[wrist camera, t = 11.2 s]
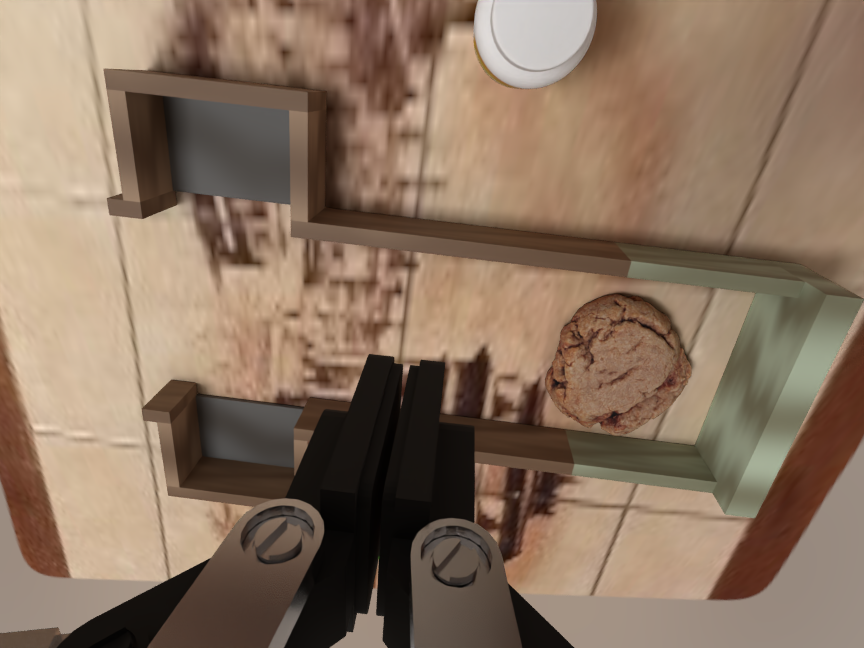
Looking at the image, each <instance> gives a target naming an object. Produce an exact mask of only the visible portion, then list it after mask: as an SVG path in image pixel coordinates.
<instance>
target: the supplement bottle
mask: <svg viewBox="0 0 864 648" xmlns="http://www.w3.org/2000/svg"><path fill="white" fill-rule="evenodd" d="M596 21H597V3H596V0H478V3H477V7H476V11H475V19H474V35H473V37H474V48H475V52H476V55H477V58H478V60H479V63H480V65H481V66H482V68H483V70H484V71H485V72H486V73H487V74H488V75H489V76H490V77H491V78H492V79H493V80H494V81H496V82H497V83H499V84H501V85H504V86H506V87H510V88H517V89H537V88H542V87H545V86H548V85H550V84H553V83H555V82H557V81H559V80H561V79H562V78H564V77H565V76H566V75H568V74H569V73H570V72H571V71H572V70H573V69H574V68H575V67H576V66H577V65H578V64H579V62H580V61H581V60H582V58H583V57H584V55H585V54H586V52H587V50H588V48H589V46H590V44H591V41H592V38H593V35H594V32H595V27H596Z"/></svg>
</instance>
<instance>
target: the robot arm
mask: <svg viewBox="0 0 864 648" xmlns="http://www.w3.org/2000/svg"><path fill="white" fill-rule="evenodd" d="M444 369H445V362H437V361H428V360H421V361H420V366H413V365H410V368H409V373H408V378H407V383H406V387H405V392H404V397H403V401H402V406H401V411H400V405H401V390H402V374H403V364H395V363H394V357H391V356H382V355H373V354H369V355H368V357H367V360H366V363H365V366H364V369H363V371H362V374H361V377H360V380H359V382H358V385H357V388H356V391H355V393H354V396H353V399H352V402H351V404H350V407H349V410H348V411H340V410H331V409H325V410H324V411H323V412H322V414H321V416H320V419H319V421H318V423H317V425H316V428H315V430H314V432H313V435H312V437H311V439H310V442H309V444H308V446H307V449H306V451H305V453H304V455H303V458H302V460H301V462H300V465H299V467H298V469H297V472H296V474H295V476H294V478H293V481H292V483H291V485H290V488H289V490H288V492H287V495H286V497H285V498H284V499H276V500H270V501H267V502H265V503H262V504H259V505H257V506H255V507H254V508H252V509H251V510H249V511H248V512H246V513H245V514H244V515H243V516H242V517H241V518H240V519H239V520H238V522H237V523H236V524H235V525H234V527H233V528H232V530H231V531H230V532H229V534H228V535H227V537H226V538H225V539H224V541H223V542H222V544H221V545H220V546H219V548H218V549H217V551H216V552H215V553H214V555H213V556H212V558H210V559H208V560H206V561H204V562H202V563H200V564H198V565H196V566H194V567H192V568H190V569H189V570H187V571H185V572H183V573H181V574H179V575H177V576H175V577H173V578H171V579H169V580H167V581H165V582H163V583H161V584H160V585H158V586H155V587H154V588H152V589H150V590H148V591H146V592H144V593H142V594H140V595H138V596H136V597H134V598H132V599H130V600H128V601H126V602H124V603H122V604H121V605H119V606H117V607H115V608H113V609H111V610H109V611H107V612H105V613H103V614H101V615H99V616H97V617H95V618H93V619H91V620H90V621H88V622H87V623H85V624H84V625H82V626H80V627H79V628H77V629H76V630H74V631H73V632H72V633H69V634H61V633H60V631H59V628H58V627H57V628H47V629H37V630H27V631H18V632H8V633H0V648H330V647H331V646H332V645H334V644H335V643H337V642H338V641H339V640H341V639H342V638H344V637H345V636H346V633H347V632H353V629H354V624H355V619H356V615H357V613H362V614H367V613H368V609H369V605H370V600H371V594H372V589H373V584H374V579H375V574H376V569H377V564H378V559H379V570H378V589H377V609H376V615H378V616H384V627H383V642H384V643H385V645H386V646H387V647H388V648H574V647H573V646H572V645H571V644H570V643H569V642H568V641H567V640H566V639H565V638H564V637H563V636H562V635H561V634H560V633H559V632H557V630H555V628H554V627H553V626H551V625H550V624H549V623H548V622H547V621H546V620H545V619H544V618H543V617H542V616H541V615H540V614H539V613H538V612H537V611H536V610H535V609H534V608H533V607H532V606H531V605H530V604H529V603H528V602H527V601H526V600H525V599H524V598H523V597H522V596H521V595H520V594H519V593H518V592H517V591H516V590H514V589H513V588H512V587H511V586H510V585H509V584H508V582H507V577H506V573H505V568H504V564H503V559H502V555H501V552H500V550H499V547H498V545H497V542H496V541H495V540H494V539H493V537H492V536H491V535H490V534H489V532H487V531H486V530H484V529H483V528H482V527H480V526H479V525H477V524H475V523H474V496H475V427H474V426H472V425H464V424H455V423H446V422H439V418H440V408H441V399H442V389H443V379H444Z"/></svg>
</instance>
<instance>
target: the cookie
mask: <svg viewBox="0 0 864 648" xmlns="http://www.w3.org/2000/svg"><path fill="white" fill-rule="evenodd" d="M670 324H671V322H670V321H669V319H668V317H667V316H666V315H665V314H664V313H663V312H659V311H658V310H657V309H655V308H654V307H653V306H652V305H651V304H649V303H648V302H644V301H643V300H642V299H641V298H640V297H639V296H631V297H624V296H621V295H619V294H612V295H607V296H604V297H600V298H598V299H596V300H593V301H592V302H590V303H586V304H584V306H583V307H581V308H580V309H578V311H577V312H576V314H575V315H574V316H573V318H572V320H571V323H570V324H568V325H565V326H564V328H563V329H562V331H561V335H560V338H561V340H560V342H559V345H558V349H557V352H556V358H555V360H554V361H553V362H552V365H553V367H551V368H550V370H549V371H548V372H547V375H546V378H545V386H546V388H547V390H548V392H549V394H550V396H551V399H552V400H553V402H554V403H555V405H556V406H557V407H558V409H559V410H560V411H561V412H562V413H563V414H565V415H566V416H567V417H571V418H572V419H573V420H576V421H577V422H579V423H580V424H581V425H583V426H585V427H588V428H591V427H592V426H593V425H594V424H596V423H598V422H599V423H600V424H601V427H602V429H603V430H605V431H607V432H608V433H610V434H611V435H614V436H621V435H623V434H627V433H630V432H632V431H633V430H635V429H637V428H638V427H640V426H642V425H644V424H645V423H647V422H648V421H649V420H650V419H654V418H656V417H657V416H659V415H660V414H661V413H662V412H663V411H665V410H666V409H667V408H669V407H670V406H671V405H672V404H673V402H674V401H675V400H676V398H677V397H678V396H679V395H680V394H681V392H682V391H683V389H684V387H685V385H687V383H688V379H689V377H690V376H691V369H692V368H691V366H690V363H689V362H688V360H687V359H686V355H685V354H684V349H683V348H681V347H680V342H679V337H678V335H677V334H676V332H674V331H673V330H672V329H671V327H670Z"/></svg>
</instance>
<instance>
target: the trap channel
mask: <svg viewBox="0 0 864 648" xmlns="http://www.w3.org/2000/svg"><path fill="white" fill-rule="evenodd" d="M104 75H105V82H106V88H107V95H108V102H109V108H110V115H111V121H112V128H113V134H114V141H115V148H116V154H117V161H118V167H119V174H120V181H121V187H122V194H119V195H116V196H113V197H109V198H107V202H108V208H109V214H110V215H113V216H122V217H130V218H138V219H144V218H146V217H149V216H151V215H153V214H156V213H158V212H161V211H163V210H166V209H168V208H171V207H173V206H175V205H177V201H176V192H175V191H180V192H189V193H197V194H206V195H214V196H222V197H231V198H239V199H248V200H256V201H264V202H273V203H281V204H289V205H291V237H296V238H304V239H313V240H321V241H329V242H338V243H346V244H354V245H363V246H371V247H379V248H388V249H396V250H404V251H412V252H421V253H429V254H437V255H446V256H454V257H462V258H471V259H479V260H487V261H496V262H504V263H512V264H521V265H529V266H537V267H545V268H554V269H562V270H570V271H579V272H587V273H595V274H604V275H612V276H620V277H629V278H637V279H645V280H653V281H662V282H670V283H678V284H687V285H695V286H703V287H712V288H720V289H728V290H737V291H745V292H753V293H756V294H755V296H754V299H753V301H752V304H751V306H750V309H749V311H748V314H747V316H746V319H745V321H744V324H743V326H742V329H741V331H740V334H739V336H738V339H737V342H736V344H735V347H734V349H733V352H732V354H731V357H730V359H729V362H728V364H727V367H726V369H725V372H724V374H723V377H722V379H721V382H720V384H719V387H718V389H717V392H716V394H715V397H714V399H713V402H712V404H711V407H710V409H709V412H708V414H707V417H706V419H705V422H704V424H703V427H702V429H701V432H700V434H699V437H698V439H697V442H696V444H695V446H691V445H683V444H675V443H667V442H659V441H652V440H644V439H636V438H628V437H620V436H612V435H604V434H596V433H588V432H580V431H572V430H564V429H556V428H548V427H541V426H533V425H525V424H517V423H509V422H501V421H493V420H485V419H477V418H469V417H461V416H453V415H445V414H440V418H439V422H446V423H455V424H464V425H472V426H474V427H475V463H481V464H489V465H497V466H504V467H512V468H520V469H528V470H536V471H543V472H551V473H559V474H567V475H575V476H583V477H590V478H598V479H606V480H614V481H622V482H630V483H637V484H645V485H653V486H661V487H669V488H677V489H684V490H692V491H700V492H708V493H713V495H714V497H715V498H716V500H717V502H718V503H719V505H720V507H721V508H722V510H723V512H724V514H726V515H734V516H741V517H749V518H755V517H756V515H757V513H758V511H759V509H760V507H761V505H762V503H763V501H764V499H765V497H766V495H767V493H768V491H769V489H770V487H771V485H772V483H773V481H774V479H775V477H776V475H777V473H778V471H779V469H780V467H781V465H782V463H783V461H784V459H785V457H786V455H787V453H788V451H789V449H790V447H791V445H792V443H793V441H794V439H795V437H796V435H797V433H798V431H799V429H800V427H801V425H802V423H803V421H804V419H805V417H806V415H807V413H808V411H809V409H810V407H811V405H812V403H813V401H814V399H815V397H816V395H817V393H818V391H819V389H820V387H821V385H822V383H823V381H824V379H825V377H826V375H827V373H828V371H829V369H830V367H831V365H832V363H833V361H834V359H835V357H836V355H837V353H838V351H839V349H840V347H841V345H842V343H843V341H844V339H845V337H846V335H847V333H848V331H849V329H850V327H851V325H852V323H853V321H854V319H855V317H856V315H857V313H858V311H859V309H860V307H861V305H862V303H863V301H864V299H863V298H861V297H859V296H857V295H856V294H854V293H852V292H850V291H848V290H846V289H845V288H843V287H841V286H839V285H837V284H835V283H834V282H832V281H830V280H828V279H826V278H824V277H823V276H821V275H819V274H817V273H815V272H813V271H812V270H810V269H808V268H806V267H804V266H802V265H801V264H794V263H786V262H777V261H769V260H761V259H752V258H744V257H735V256H727V255H719V254H710V253H702V252H693V251H685V250H677V249H668V248H660V247H652V246H643V245H635V244H626V243H618V242H610V241H601V240H593V239H584V238H576V237H568V236H559V235H551V234H542V233H534V232H526V231H517V230H509V229H500V228H492V227H484V226H475V225H467V224H458V223H450V222H442V221H433V220H425V219H416V218H408V217H400V216H391V215H383V214H375V213H366V212H358V211H349V210H341V209H333V208H325V179H326V110H327V91H320V90H312V89H303V88H294V87H285V86H277V85H268V84H259V83H251V82H242V81H233V80H225V79H216V78H207V77H198V76H190V75H181V74H172V73H164V72H155V71H146V70H123V69H104ZM350 404H351V403H350V402H342V401H334V400H326V399H318V398H311V397H310V398H309V400H308V402H307V403H306V405H305V407H298V406H290V405H282V404H274V403H266V402H258V401H250V400H242V399H234V398H226V397H219V396H211V395H203V394H197V386H196V383H192V382H184V381H176V380H171V381H169V382H168V383H167V384H166V385H165V386H164V387H163V388H162V389H161V390H160V391H159V392H158V393H157V394H156V395H155V396H154V397H153V398H152V399H151V400H150V401H149V402H148V403H147V404H146V405H145V406H144V407H143V408H142V414H143V420H144V421H152V422H157V425H158V431H159V438H160V444H161V451H162V458H163V464H164V471H165V477H166V484H167V491H168V496H175V497H183V498H190V499H198V500H206V501H213V502H221V503H229V504H236V505H244V506H252V507H255V506H257V505H259V504H262V503H265V502H267V501H270V500H276V499H284V498H285V497H286V495H287V492H288V490H289V488H290V485H291V483H292V481H293V478H294V476H295V474H296V472H297V469H298V467H299V465H300V462H301V460H302V458H303V455H304V453H305V451H306V449H307V446H308V444H309V442H310V439H311V437H312V435H313V432H314V430H315V428H316V425H317V423H318V421H319V419H320V416H321V414H322V412H323V411H324V410H325V409H331V410H340V411H348V410H349V407H350ZM400 411H401V409H400Z"/></svg>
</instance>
